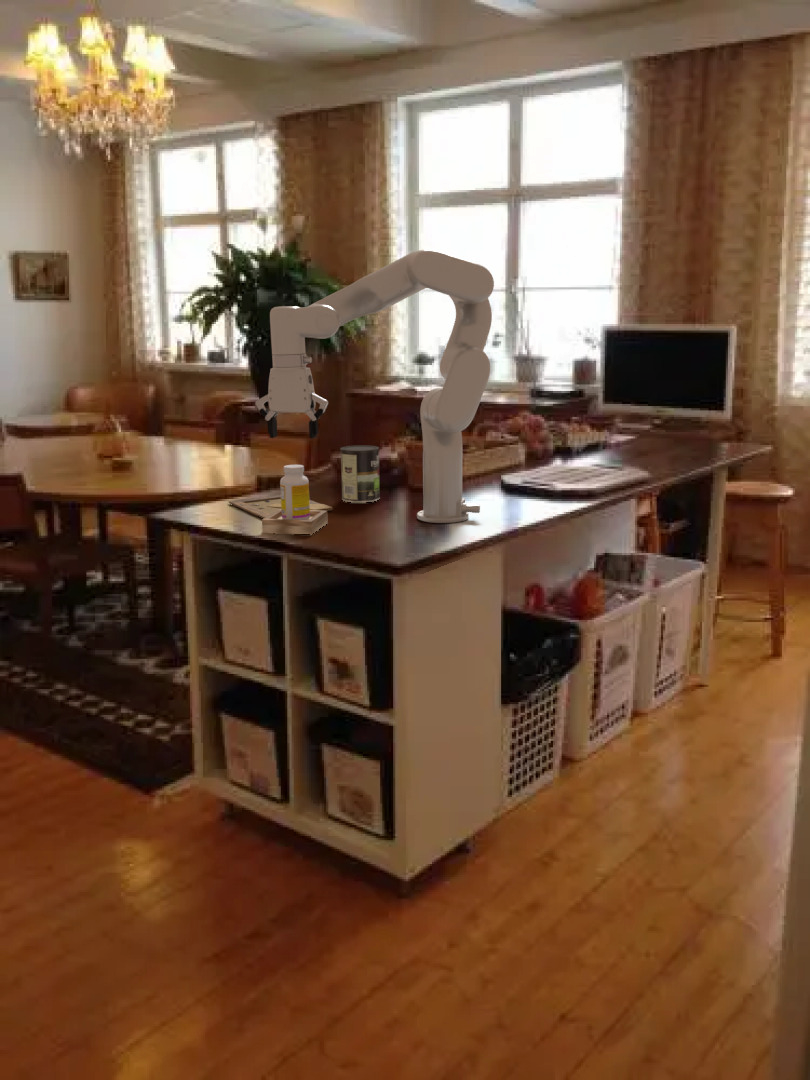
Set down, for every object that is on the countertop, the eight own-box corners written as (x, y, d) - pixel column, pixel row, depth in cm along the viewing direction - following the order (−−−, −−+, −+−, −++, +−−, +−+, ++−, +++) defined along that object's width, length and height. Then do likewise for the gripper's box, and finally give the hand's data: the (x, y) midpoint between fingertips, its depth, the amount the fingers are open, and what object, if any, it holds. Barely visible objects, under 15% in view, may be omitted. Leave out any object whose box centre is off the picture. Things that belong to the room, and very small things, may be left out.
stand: (327, 523, 234) (327, 510, 233) (311, 535, 223) (311, 521, 222) (280, 521, 237) (280, 508, 236) (262, 533, 226) (261, 519, 225)
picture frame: (332, 514, 248) (292, 498, 267) (332, 507, 247) (292, 492, 267) (265, 523, 238) (228, 506, 258) (264, 516, 238) (228, 500, 257)
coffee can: (383, 496, 265) (382, 445, 262) (375, 504, 256) (374, 451, 252) (347, 495, 267) (345, 444, 264) (337, 503, 258) (335, 450, 254)
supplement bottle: (315, 518, 231) (313, 464, 228) (300, 524, 225) (299, 469, 222) (291, 515, 234) (289, 463, 231) (276, 521, 228) (274, 467, 225)
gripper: (330, 360, 222) (334, 435, 226) (259, 361, 226) (264, 434, 230) (320, 363, 215) (324, 440, 219) (247, 363, 219) (252, 439, 223)
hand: (293, 437), depth 225 cm, fingers open, 9 cm apart
